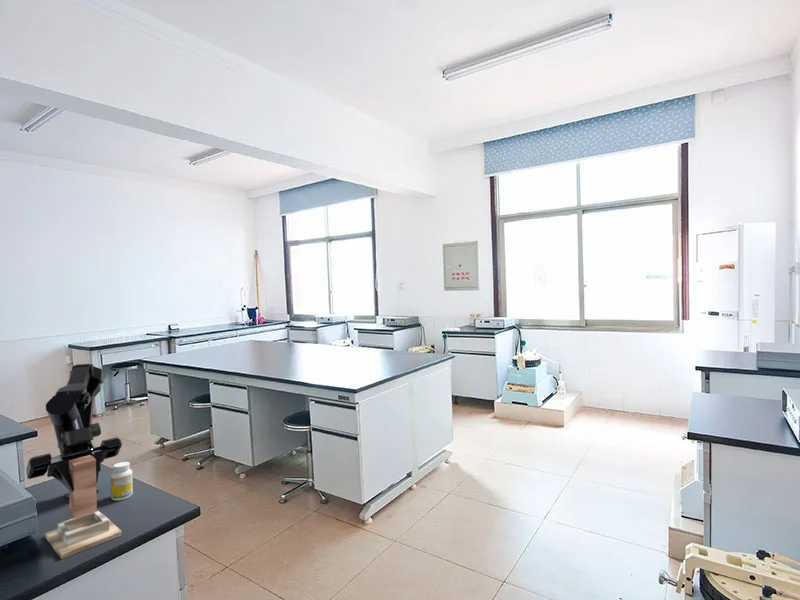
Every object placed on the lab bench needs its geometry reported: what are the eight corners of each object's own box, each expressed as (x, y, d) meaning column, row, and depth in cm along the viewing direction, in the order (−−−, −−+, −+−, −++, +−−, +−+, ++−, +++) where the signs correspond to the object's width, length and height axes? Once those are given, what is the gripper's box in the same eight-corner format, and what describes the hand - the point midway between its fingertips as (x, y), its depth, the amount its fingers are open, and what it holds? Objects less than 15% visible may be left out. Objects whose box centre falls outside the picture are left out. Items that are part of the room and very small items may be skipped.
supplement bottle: (129, 499, 124) (129, 466, 123) (108, 502, 122) (107, 469, 122) (135, 491, 129) (134, 459, 129) (114, 493, 127) (114, 461, 127)
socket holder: (45, 537, 105) (44, 522, 105) (102, 516, 114) (102, 503, 114) (61, 559, 96) (61, 543, 96) (121, 535, 105) (121, 521, 105)
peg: (69, 512, 105) (68, 460, 104) (90, 505, 108) (90, 454, 108) (75, 518, 102) (74, 465, 102) (96, 511, 105) (95, 459, 105)
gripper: (27, 424, 100) (40, 484, 93) (118, 406, 114) (135, 457, 108) (21, 449, 105) (32, 508, 98) (108, 430, 119) (124, 480, 113)
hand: (84, 487), depth 104 cm, fingers closed on peg, 4 cm apart
